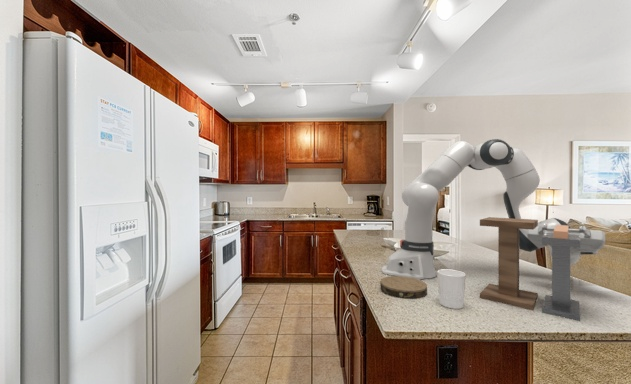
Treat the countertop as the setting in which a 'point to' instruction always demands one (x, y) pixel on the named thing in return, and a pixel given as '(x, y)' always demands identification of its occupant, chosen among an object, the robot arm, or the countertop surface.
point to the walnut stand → (509, 264)
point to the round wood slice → (403, 287)
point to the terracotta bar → (561, 231)
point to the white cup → (451, 288)
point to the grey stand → (561, 278)
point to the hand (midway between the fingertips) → (562, 226)
